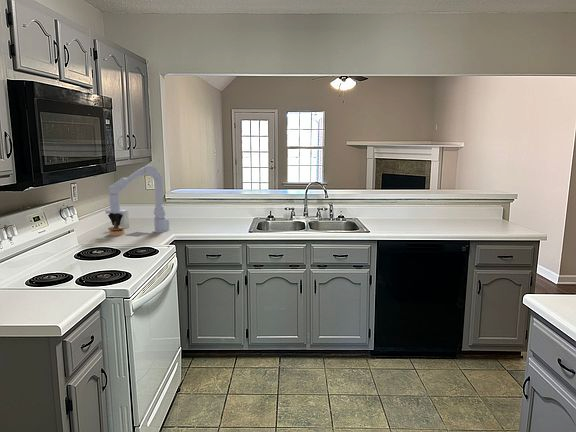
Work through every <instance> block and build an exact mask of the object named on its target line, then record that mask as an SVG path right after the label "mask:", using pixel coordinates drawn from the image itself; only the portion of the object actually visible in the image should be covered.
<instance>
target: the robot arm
mask: <svg viewBox="0 0 576 432" xmlns="http://www.w3.org/2000/svg"><path fill="white" fill-rule="evenodd" d="M146 175H147V176H149V177H151V178H152V179H153V180H154V196H155V197H154V202H155V203H154V205H155V206H154V210H153V215H154V217H153V221H154V222H153V223H154V225H153V226H154V230H152V231H151V232H152V233H164V232H168V231H170V222H169V221H170V220H169V218H168V217H166V213H165V212H166V211H165V209H164V203H163V202H164V199H163V176H162V175H161V173H160V172H159V170H158V169H157V168H156V167H155V166H154V165H151V164H147V165H145V166H143V167H141V168H139V169H137V170H136V171H134V172H133V173H132V174H130V175H129V176H127V177H120V178H119V180H117V181H116V182H113V184H111V185H109V187H108V193H109V209H107V210H105V214H108V215H107V216H108V218H109V219H110V222H111V224H112V226H114V222H116V225H117V226H118V225H120V222H121V218H122V216H123V215H124V214H125V211H121V210H122V209H121V205H120V196H119V192H120V191H122V190H124V189H125V188H127V187H129V186H130V182H132V181H134V180H136V179H137V178H139V177H140V176H146Z"/></svg>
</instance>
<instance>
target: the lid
mask: <svg viewBox="0 0 576 432" xmlns="http://www.w3.org/2000/svg"><path fill="white" fill-rule="evenodd" d="M107 229H108V231H110V230H122V229H124V227H122V226H119V225H118V226H117V225H116V222H114V225H113V226H111V227H110V226H109V227H107ZM124 230H125V229H124Z"/></svg>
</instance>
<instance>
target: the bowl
mask: <svg viewBox="0 0 576 432" xmlns="http://www.w3.org/2000/svg"><path fill="white" fill-rule="evenodd" d="M108 235H109V236H112V237H118V236H123V235H126V234H125V229H122V230H108Z"/></svg>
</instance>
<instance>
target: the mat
mask: <svg viewBox="0 0 576 432" xmlns="http://www.w3.org/2000/svg"><path fill="white" fill-rule="evenodd" d="M149 234H150V232H142V231H141V232H140V231H135V232H130V233H128V234H125V236H126V237H127V236H129V237H137V238H138V237H141V236H146V235H149Z"/></svg>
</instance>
